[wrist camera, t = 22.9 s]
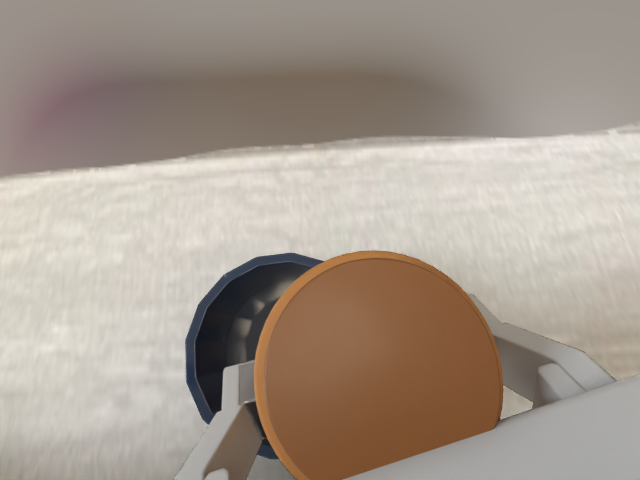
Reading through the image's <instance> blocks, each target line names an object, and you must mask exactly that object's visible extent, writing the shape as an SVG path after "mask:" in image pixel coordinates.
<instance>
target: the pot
mask: <svg viewBox="0 0 640 480" xmlns="http://www.w3.org/2000/svg"><path fill="white" fill-rule="evenodd" d="M322 262H325V261H321V260H318V259H314V258H310V257H307V256H303V255H299V254H295V253H285V254H277V255H269V256H261V257H257V258H254V259H252V260H250V261H248V262H246V263H244V264H243V265H241V266H239V267H237V268H235V269H233V270H231V271H230V272H228V273H226V274H225V275H223V276H222V277H221V278H220V280H219V281H218V282H217V283H216V284H215V285H214V287H213V288H212V289H211V290H210V291H209V292H208V294H207V295H206V296H205V297H204V298H203V299H202V301H201V302H200V303H199V304H198V307H197V310H196V313H195V315H194V318H193V321H192V324H191V326H190V329H189V332H188V335H187V337H186V341H185V353H186V381H187V385H188V387H189V389H190V392H191V394H192V396H193V399H194V401H195V403H196V406H197V408H198V410H199V412H200V415H201V417H202V419H203V420H204V421H205V422H206V423H207V424H208V425H209V424H210V422H211V421H212V419H213V418H214V416H215V415H216V413H217V412H219V411H222V388H223V371H224V369H225V368H226V367H229V366H233V365H237V364H240V363H243V362H246V361H250V360H254V359H255V356H256V350H257V346H258V342H259V338H260V335H261V332H262V330H263V327H264V324H265V322H266V320H267V318H268V316H269V314H270V312H271V310H272V308H273V307H274V305H275V304H276V303H277V301H278V300H279V298H280V297H281V295H282V294H283V293H284V292H285V291H286V290H287V289H288V288H289V286H290V285H291V284H292V283H293V282H294V281H296V280H297V279H298V278H299V277H300V276H302V275H303V274H304V273H305V272H307V271H309V270H310V269H312V268H313V267H315V266H316V265H318V264H320V263H322ZM261 441H262V443H261V445H260V447H259V450H258V452H257V455H259V456H262V457H265V458H268V459H279V458H278V456H277V455H276V453H275V451H274V450H273V448H272V446H271V444H270V442H269V441H268V439H267V438H266V439H263V440H261Z"/></svg>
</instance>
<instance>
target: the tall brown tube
mask: <svg viewBox="0 0 640 480" xmlns="http://www.w3.org/2000/svg"><path fill="white" fill-rule="evenodd" d="M254 391H255V399H256V405H257V409H258V413H259V417H260V421H261V424H262V426H263V429H264V431H265V434H266V436H267V439H268V441H269V442H270V444H271V446H272V448H273V450H274V451H275V453H276V455H277V456H278V458H279V459H280V460H281V462H282V463H283V464H284V466H285V467H286V468H287V470H288V471H289V472H290V473H291V474H292V475H293V476H294V477H295V478H296V479H297V480H343V479H346V478H349V477H352V476H355V475H358V474H361V473H364V472H367V471H370V470H373V469H376V468H379V467H382V466H385V465H388V464H391V463H394V462H397V461H400V460H403V459H406V458H409V457H412V456H415V455H418V454H421V453H424V452H427V451H430V450H433V449H436V448H439V447H442V446H445V445H448V444H451V443H454V442H457V441H460V440H463V439H466V438H469V437H472V436H475V435H479V434H482V433H485V432H488V431H491V430H493V429H495V427H496V424H497V421H498V420H500V415H501V410H502V401H503V376H502V368H501V362H500V357H499V353H498V350H497V347H496V343H495V340H494V338H493V335H492V333H491V331H490V328H489V326H488V324H487V322H486V321H485V319H484V317H483V315H482V314H481V312H480V310H479V309H478V307H477V306H476V305H475V304H474V302H473V301H472V300H471V298H470V297H469V296H468V295H467V294H466V293H465V292H464V291H463V290H462V289H461V287H460V286H459V285H458V284H456V283H455V282H454V281H453V280H451V279H450V278H449V277H448V276H447V275H445V274H444V273H442V272H441V271H439V270H437V269H436V268H434V267H433V266H431V265H429V264H427V263H425V262H422V261H420V260H418V259H415V258H412V257H409V256H406V255H403V254H398V253H393V252H386V251H359V252H353V253H348V254H343V255H340V256H337V257H334V258H331V259H329V260H327V261H325V262H322V263H320V264H318V265H316V266H315V267H313V268H312V269H310V270H309V271H307V272H305V273H304V274H303V275H302V276H300V277H299V278H298V279H297V280H296V281H294V282H293V283H292V284H291V285H290V286H289V288H288V289H287V290H286V291H285V292H284V293H283V294H282V295H281V297H280V298H279V300H278V301H277V303H276V304H275V305H274V307H273V308H272V310H271V312H270V314H269V316H268V318H267V320H266V322H265V324H264V327H263V330H262V332H261V335H260V338H259V342H258V346H257V350H256V356H255V364H254Z"/></svg>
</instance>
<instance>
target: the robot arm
mask: <svg viewBox="0 0 640 480" xmlns="http://www.w3.org/2000/svg"><path fill="white" fill-rule="evenodd" d="M468 296H469V297H470V298H471V300H472V301H473V302H474V304H475V305H476V306H477V307H478V309H479V310H480V312H481V314H482V315H483V317H484V319H485V321H486V322H487V324H488V326H489V328H490V331H491V333H492V335H493V338H494V340H495V343H496V347H497V350H498V353H499V357H500V362H501V368H502V376H503V385H504V386H506V387H508V388H509V389H511V390H513V391H515V392H516V393H518V394H520V395H521V396H523V397H525V398H526V399H528V400H530V401H531V402H533V406H532V410H529V411H526V412H523V413H520V414H517V415H514V416H511V417H508V418H505V419H502V420H498V421H497V424H496V427H495V429H493V430H491V431H488V432H485V433H482V434H479V435H475V436H472V437H469V438H466V439H463V440H460V441H457V442H454V443H451V444H448V445H445V446H442V447H439V448H436V449H433V450H430V451H427V452H424V453H421V454H418V455H415V456H412V457H409V458H406V459H403V460H400V461H397V462H394V463H391V464H388V465H385V466H382V467H379V468H376V469H373V470H370V471H367V472H364V473H361V474H358V475H355V476H352V477H349V478H346V479H343V480H640V374H638V375H635V376H632V377H629V378H626V379H623V380H620V381H616V380H615V379H614V378H613V377H612V376H611V375H610V374H609V373H607V372H606V371H605V370H604V369H603V368H602V367H601V366H600V365H598V364H597V363H596V362H595V361H594V360H593V359H592V358H591V357H589V356H588V355H587V354H586V353H585V352H584V351H581V350H579V349H576V348H573V347H570V346H568V345H565V344H562V343H560V342H557V341H554V340H551V339H549V338H546V337H543V336H540V335H538V334H535V333H532V332H530V331H527V330H524V329H521V328H519V327H516V326H513V325H510V324H508V323H503V324H501V323H500V322H499V321H498V320H497V319H496V318H495V317H494V315H493V314H492V313H491V312H490V311H489V310H488V309H487V308H486V307H485V306H484V305H483V304H482V303H481V302H480V301H479V300H478V299H477V298H476V297H475V296H474V295H473V294H468ZM254 364H255V359H254V360H250V361H246V362H243V363H240V364H237V365H233V366H229V367H226V368H225V369H224V371H223V388H222V411H219V412H217V413H216V415H215V416H214V418H213V419H212V421H211V422H210V424H209V425H208V427H207V428H206V430H205V432H204V433H203V435H202V436H201V438H200V439H199V441H198V442H197V444H196V445H195V447H194V448H193V450H192V452H191V453H190V455H189V456H188V458H187V459H186V461H185V462H184V464H183V465H182V467H181V469H180V470H179V472H178V473H177V475H176V476H175V478H174V479H173V480H246V479H247V477H248V474H249V472H250V469H251V467H252V464H253V462H254V460H255V457H256V455H257V452H258V450H259V447H260V445H261V443H262V441H261V440H263V439H266V438H267V436H266V434H265V431H264V429H263V426H262V424H261V421H260V417H259V413H258V409H257V405H256V399H255V391H254Z"/></svg>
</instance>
